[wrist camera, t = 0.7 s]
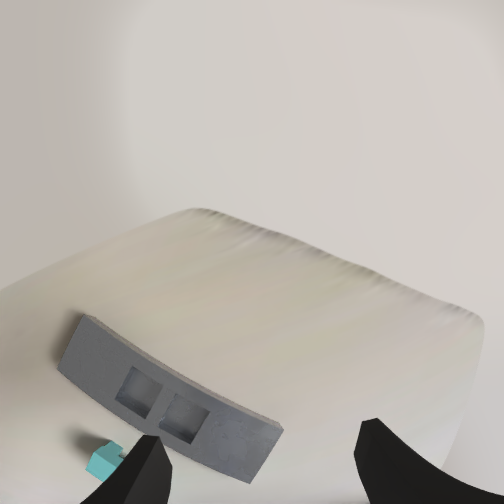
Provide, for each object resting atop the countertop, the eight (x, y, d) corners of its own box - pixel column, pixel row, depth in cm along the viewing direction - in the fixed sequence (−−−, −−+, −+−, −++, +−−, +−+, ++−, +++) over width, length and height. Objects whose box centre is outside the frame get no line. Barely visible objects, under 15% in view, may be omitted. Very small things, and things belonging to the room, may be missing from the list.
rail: (247, 473, 26) (249, 483, 24) (69, 367, 28) (56, 368, 25) (278, 422, 29) (283, 429, 26) (94, 317, 30) (83, 314, 28)
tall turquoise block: (162, 471, 26) (153, 488, 21) (152, 487, 25) (142, 505, 20) (110, 439, 26) (93, 452, 21) (101, 456, 25) (85, 469, 20)
